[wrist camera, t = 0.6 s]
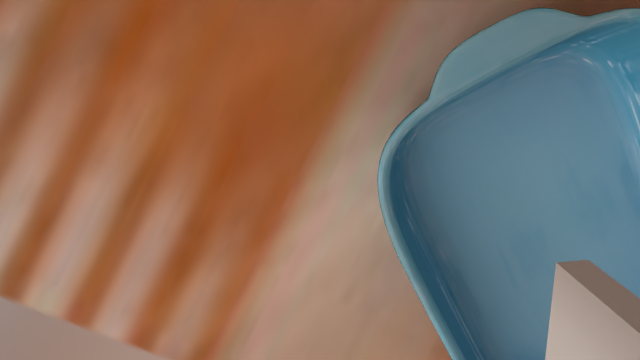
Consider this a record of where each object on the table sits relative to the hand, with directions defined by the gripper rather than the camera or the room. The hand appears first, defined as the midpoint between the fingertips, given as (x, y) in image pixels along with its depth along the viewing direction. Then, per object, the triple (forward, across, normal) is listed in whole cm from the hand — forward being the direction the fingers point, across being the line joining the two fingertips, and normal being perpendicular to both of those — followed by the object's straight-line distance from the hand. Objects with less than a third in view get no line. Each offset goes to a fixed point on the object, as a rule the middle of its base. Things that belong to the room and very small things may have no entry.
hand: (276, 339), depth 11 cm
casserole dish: (+25, +21, -11) cm, 34 cm away
